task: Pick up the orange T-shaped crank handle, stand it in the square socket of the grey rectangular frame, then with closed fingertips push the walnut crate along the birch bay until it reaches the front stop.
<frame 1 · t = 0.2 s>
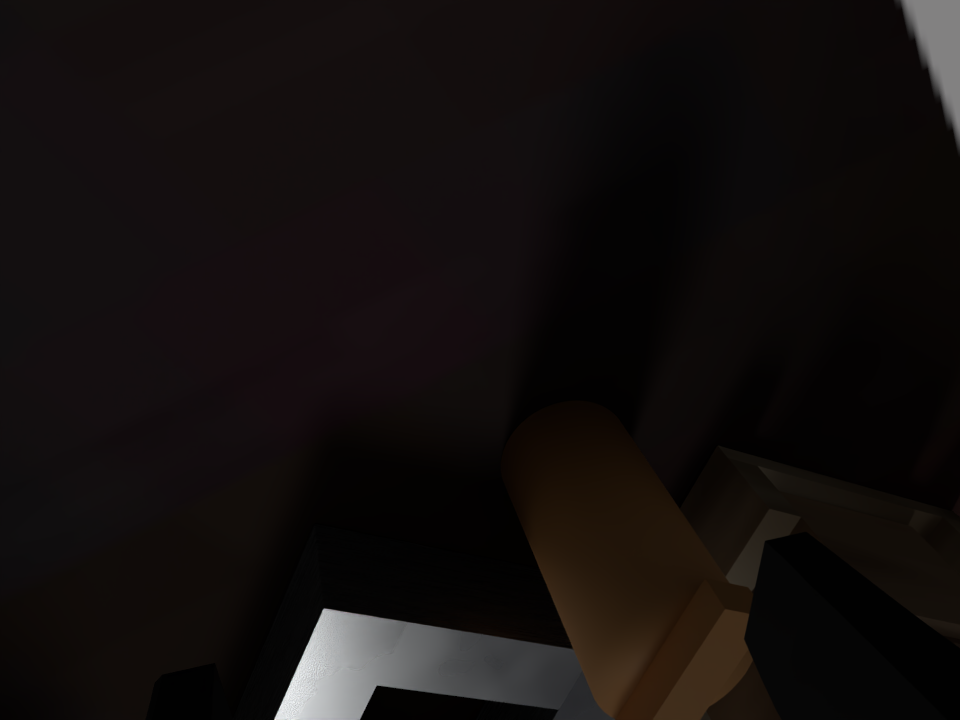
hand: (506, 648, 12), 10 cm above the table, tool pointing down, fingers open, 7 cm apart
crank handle: (564, 457, 23), on the table
grey rectangular frame: (414, 677, 26), on the table
crate: (837, 649, 25), point 3 cm above the table, slide at 0.0 cm
bay: (722, 659, 28), on the table
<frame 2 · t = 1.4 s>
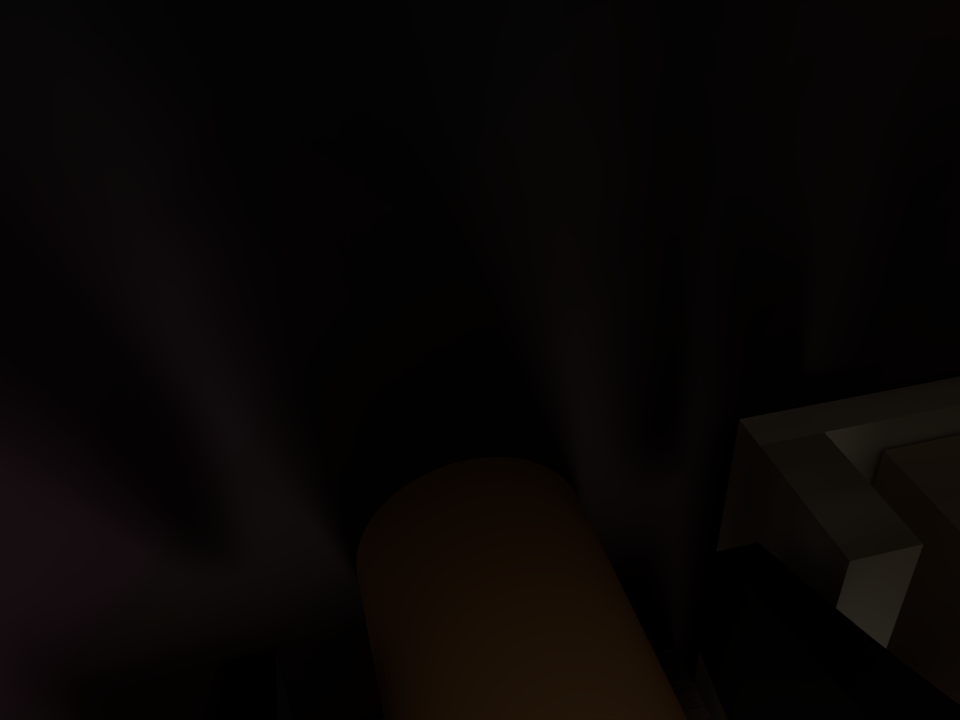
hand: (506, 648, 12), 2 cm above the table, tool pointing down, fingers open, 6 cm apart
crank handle: (472, 547, 13), on the table
bay: (900, 654, 18), on the table
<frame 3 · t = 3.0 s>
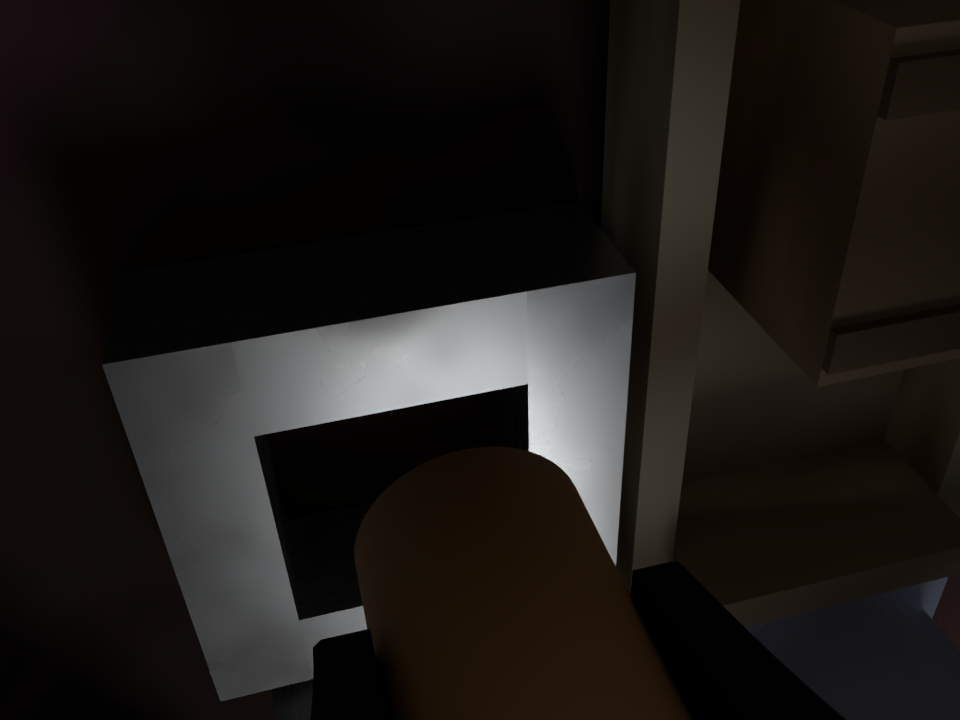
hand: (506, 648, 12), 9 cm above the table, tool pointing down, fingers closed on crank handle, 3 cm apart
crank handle: (470, 538, 13), point 7 cm above the table, touching gripper
grey rectangular frame: (381, 415, 20), on the table
crate: (909, 154, 16), point 3 cm above the table, slide at 0.0 cm
bay: (787, 249, 20), on the table
when the fingers open (4 cm above the table, at t = 4.4 s): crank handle drops 2 cm, resting in grey rectangular frame.
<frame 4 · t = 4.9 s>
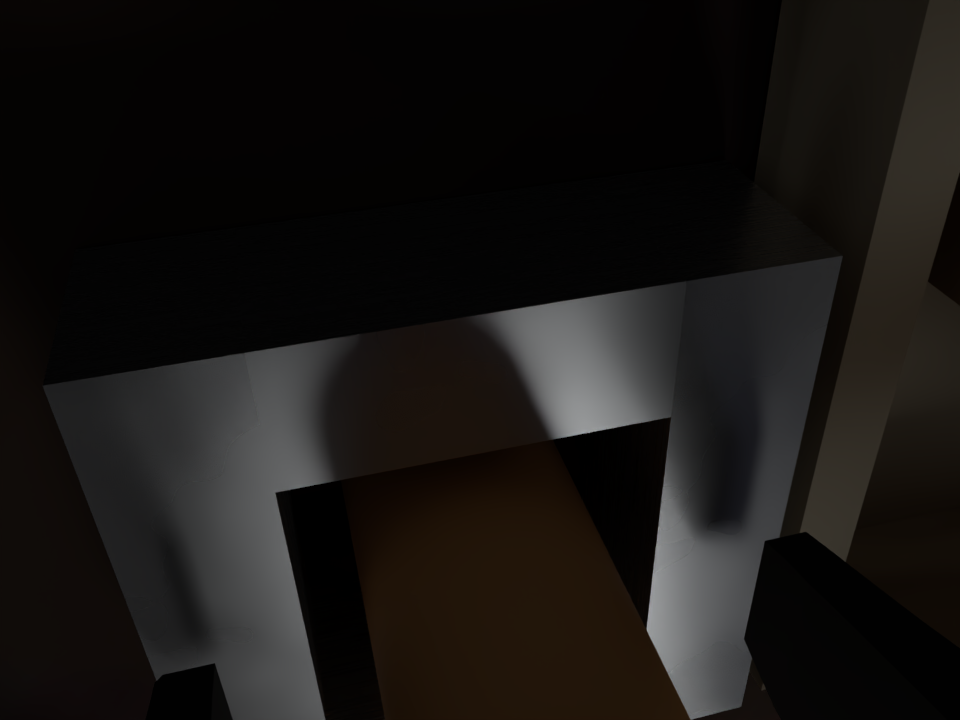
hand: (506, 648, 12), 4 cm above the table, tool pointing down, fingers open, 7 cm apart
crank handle: (441, 447, 15), resting in grey rectangular frame
grey rectangular frame: (441, 452, 15), on the table
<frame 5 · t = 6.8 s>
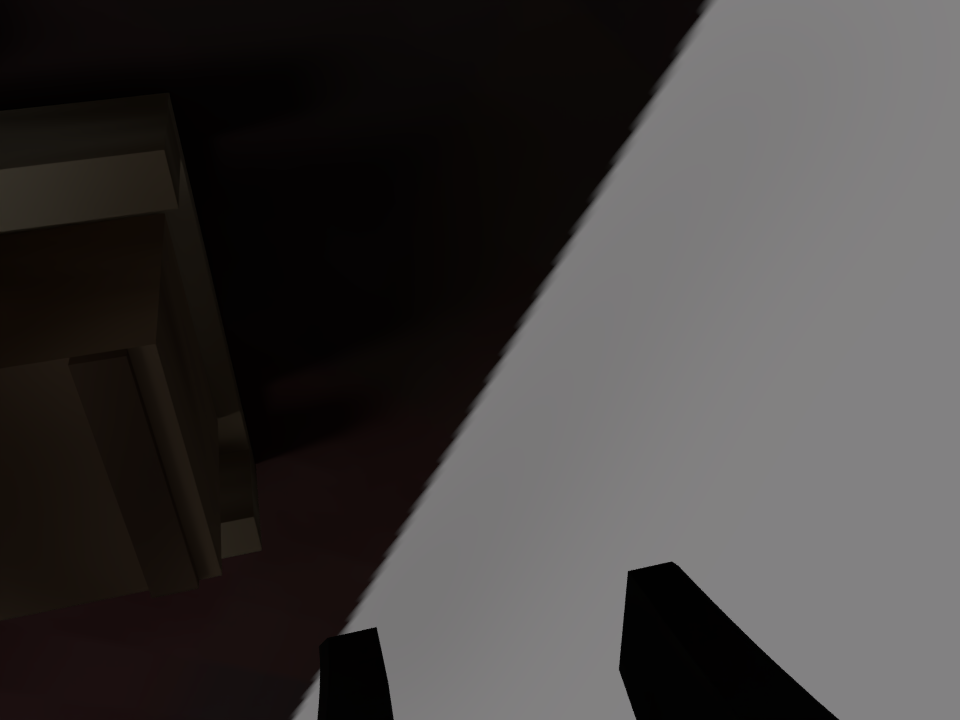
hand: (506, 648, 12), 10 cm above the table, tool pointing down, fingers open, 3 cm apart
crate: (17, 423, 16), point 3 cm above the table, slide at 0.0 cm
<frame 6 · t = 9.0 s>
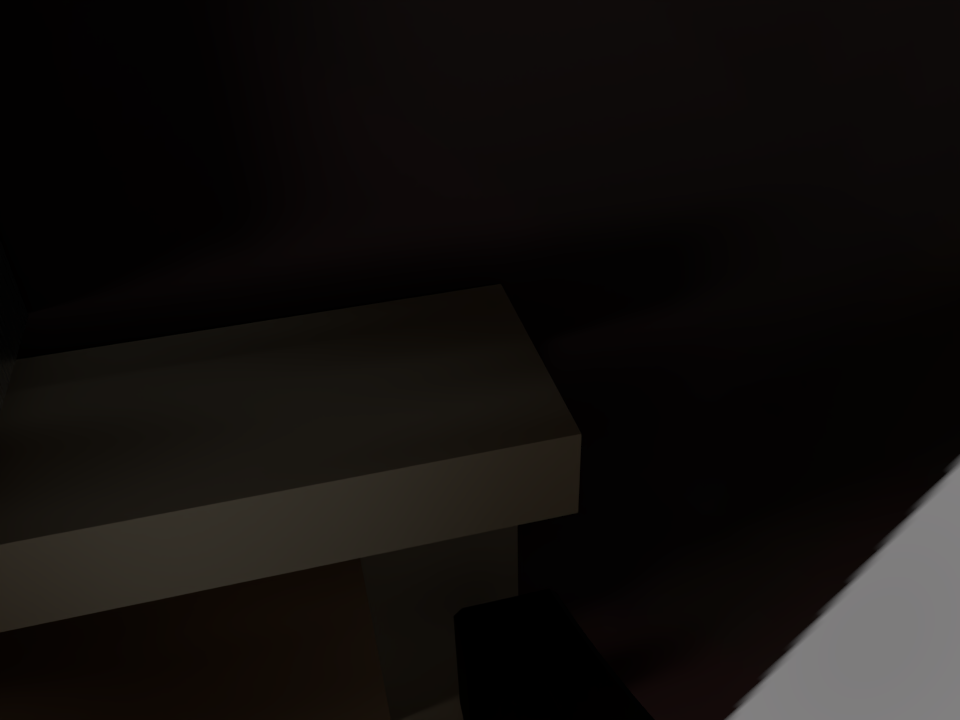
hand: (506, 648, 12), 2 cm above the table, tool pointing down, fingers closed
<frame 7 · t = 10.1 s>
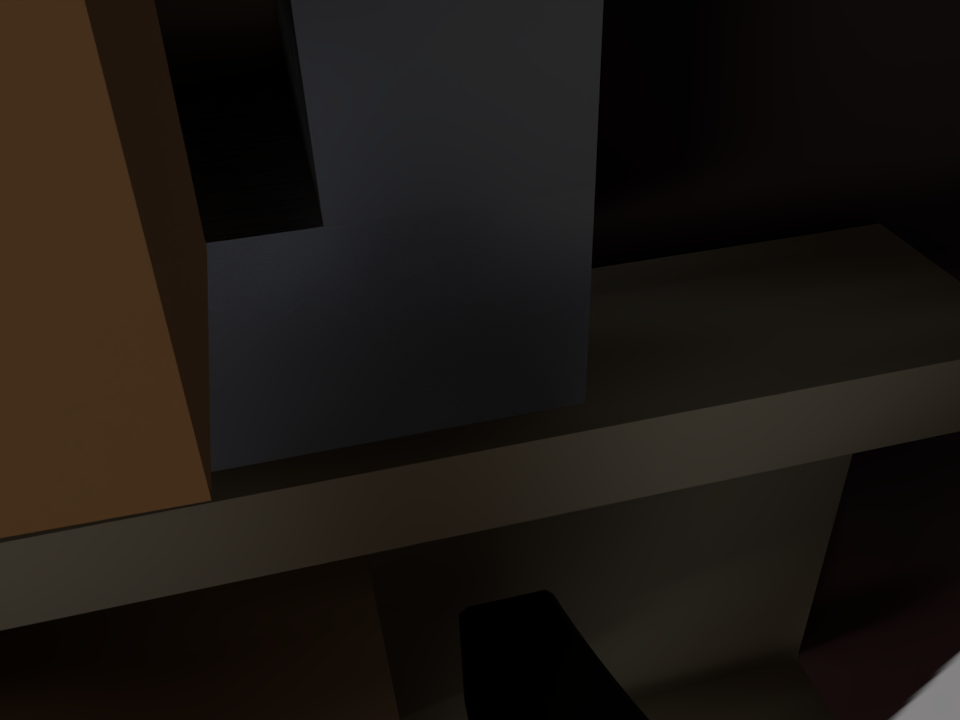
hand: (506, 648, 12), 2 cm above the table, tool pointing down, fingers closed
bay: (365, 582, 13), on the table
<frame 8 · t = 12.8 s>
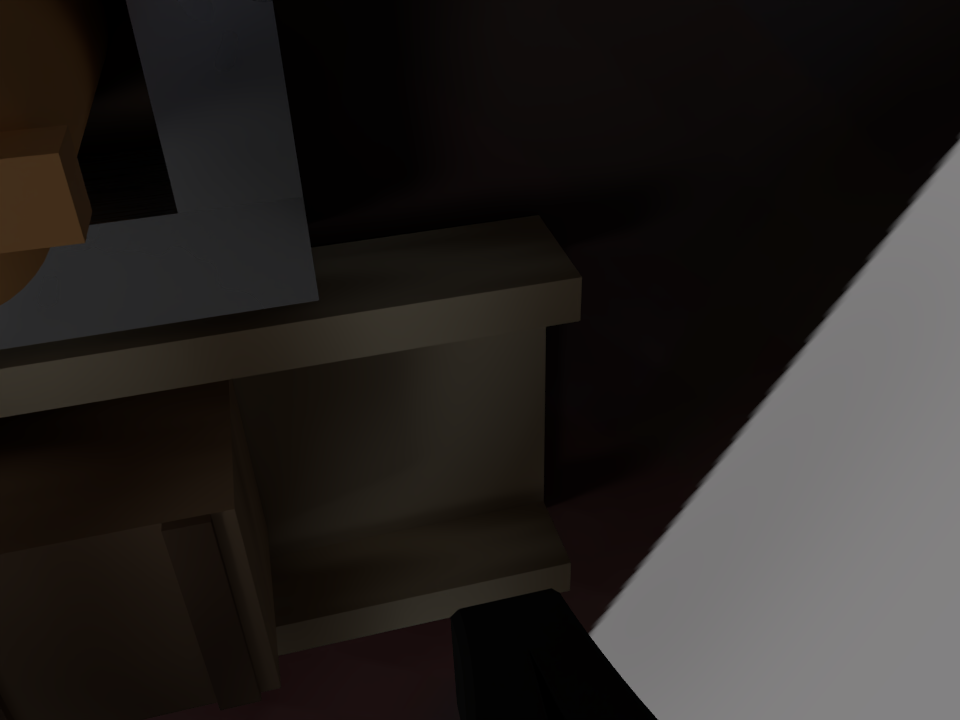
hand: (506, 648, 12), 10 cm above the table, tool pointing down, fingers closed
crate: (101, 555, 18), point 3 cm above the table, slide at 6.5 cm, touching bay
bay: (247, 433, 21), on the table
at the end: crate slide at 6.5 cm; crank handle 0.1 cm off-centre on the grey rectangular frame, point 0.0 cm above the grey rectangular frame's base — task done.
